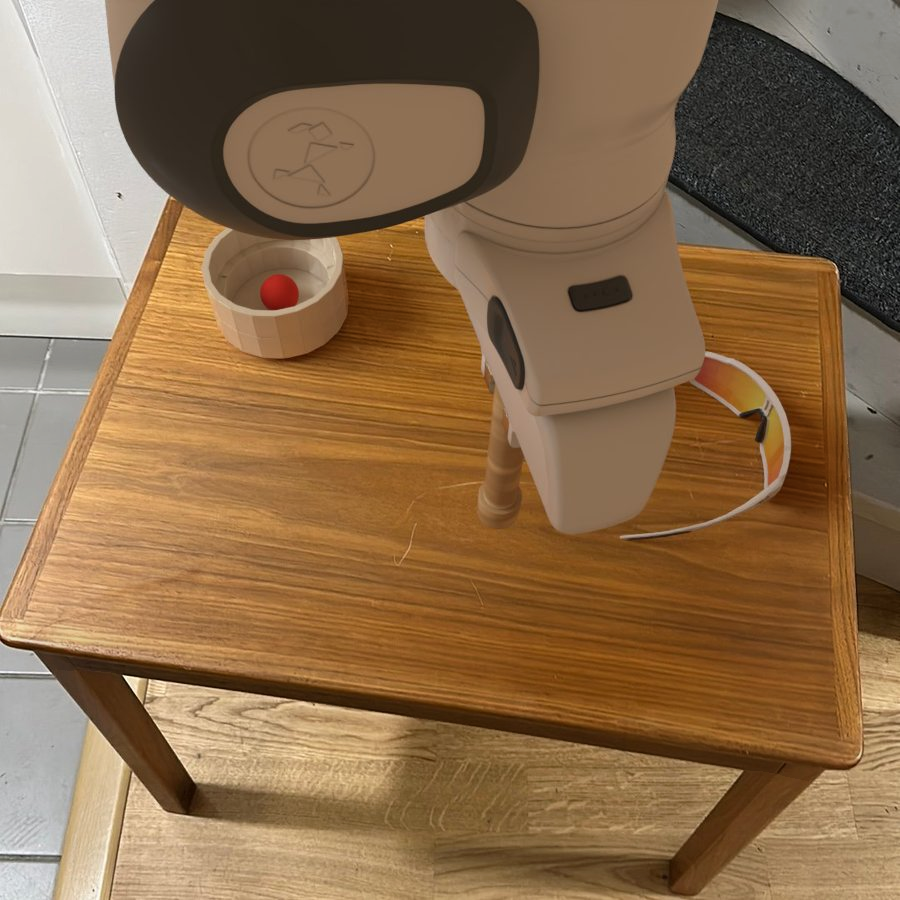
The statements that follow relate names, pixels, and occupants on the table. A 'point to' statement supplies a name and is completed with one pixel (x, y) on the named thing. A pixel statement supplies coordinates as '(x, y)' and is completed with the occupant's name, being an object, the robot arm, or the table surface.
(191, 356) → the table surface
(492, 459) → the stir stick
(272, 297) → the red ball
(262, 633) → the table surface
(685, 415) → the table surface
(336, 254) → the bowl
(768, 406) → the sunglasses
